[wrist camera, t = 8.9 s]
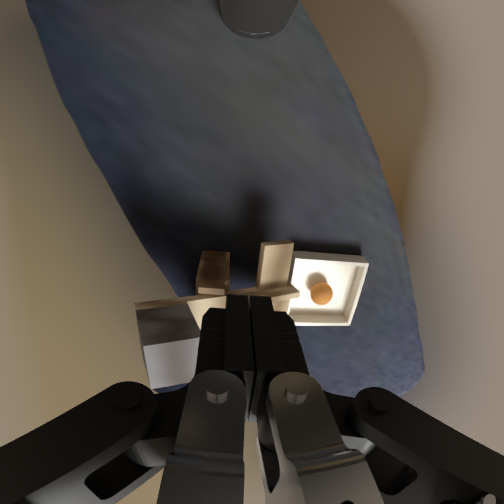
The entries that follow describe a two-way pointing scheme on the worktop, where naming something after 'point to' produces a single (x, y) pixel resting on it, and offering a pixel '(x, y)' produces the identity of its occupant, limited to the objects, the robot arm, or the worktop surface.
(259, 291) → the lever
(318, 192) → the worktop surface
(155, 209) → the worktop surface
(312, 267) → the dish
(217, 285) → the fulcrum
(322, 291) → the ball
